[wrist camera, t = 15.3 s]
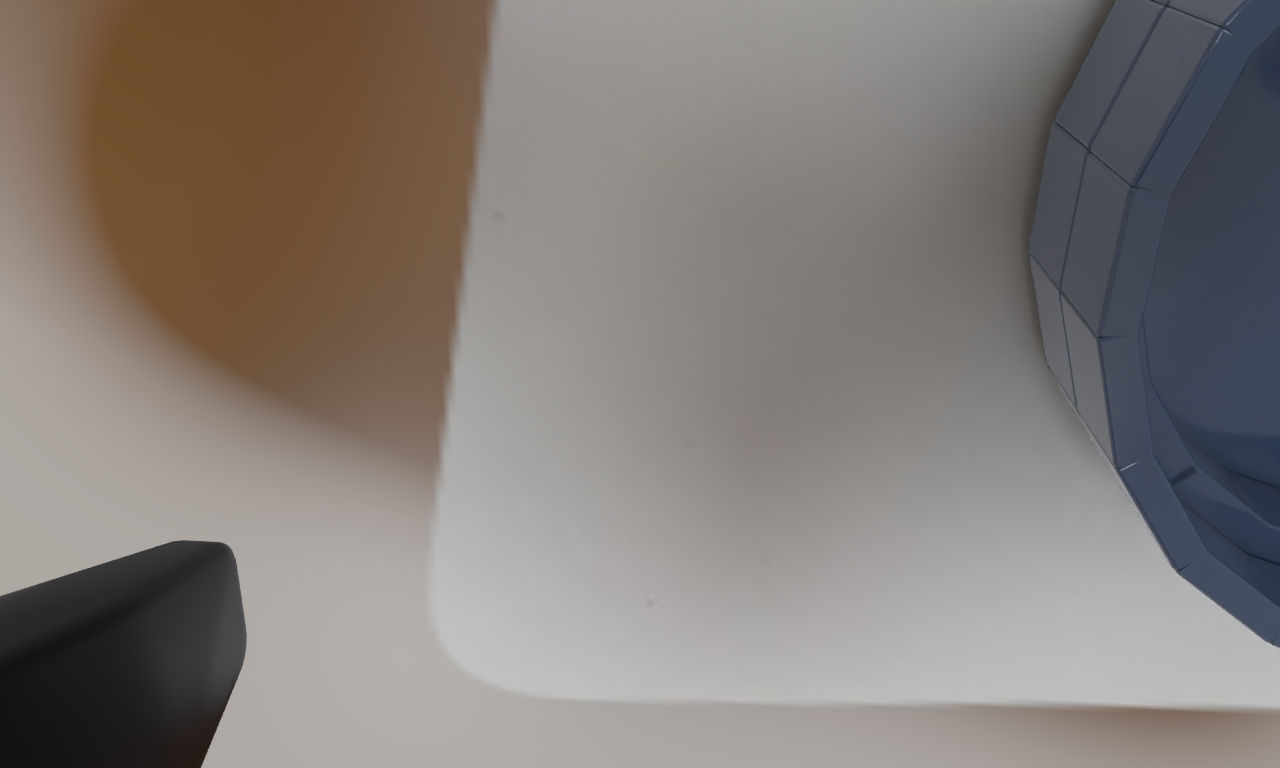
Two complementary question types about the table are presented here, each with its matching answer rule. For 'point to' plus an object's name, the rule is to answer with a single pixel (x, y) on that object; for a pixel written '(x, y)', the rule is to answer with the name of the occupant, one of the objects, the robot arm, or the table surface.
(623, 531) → the table surface
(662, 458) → the table surface
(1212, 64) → the bowl
